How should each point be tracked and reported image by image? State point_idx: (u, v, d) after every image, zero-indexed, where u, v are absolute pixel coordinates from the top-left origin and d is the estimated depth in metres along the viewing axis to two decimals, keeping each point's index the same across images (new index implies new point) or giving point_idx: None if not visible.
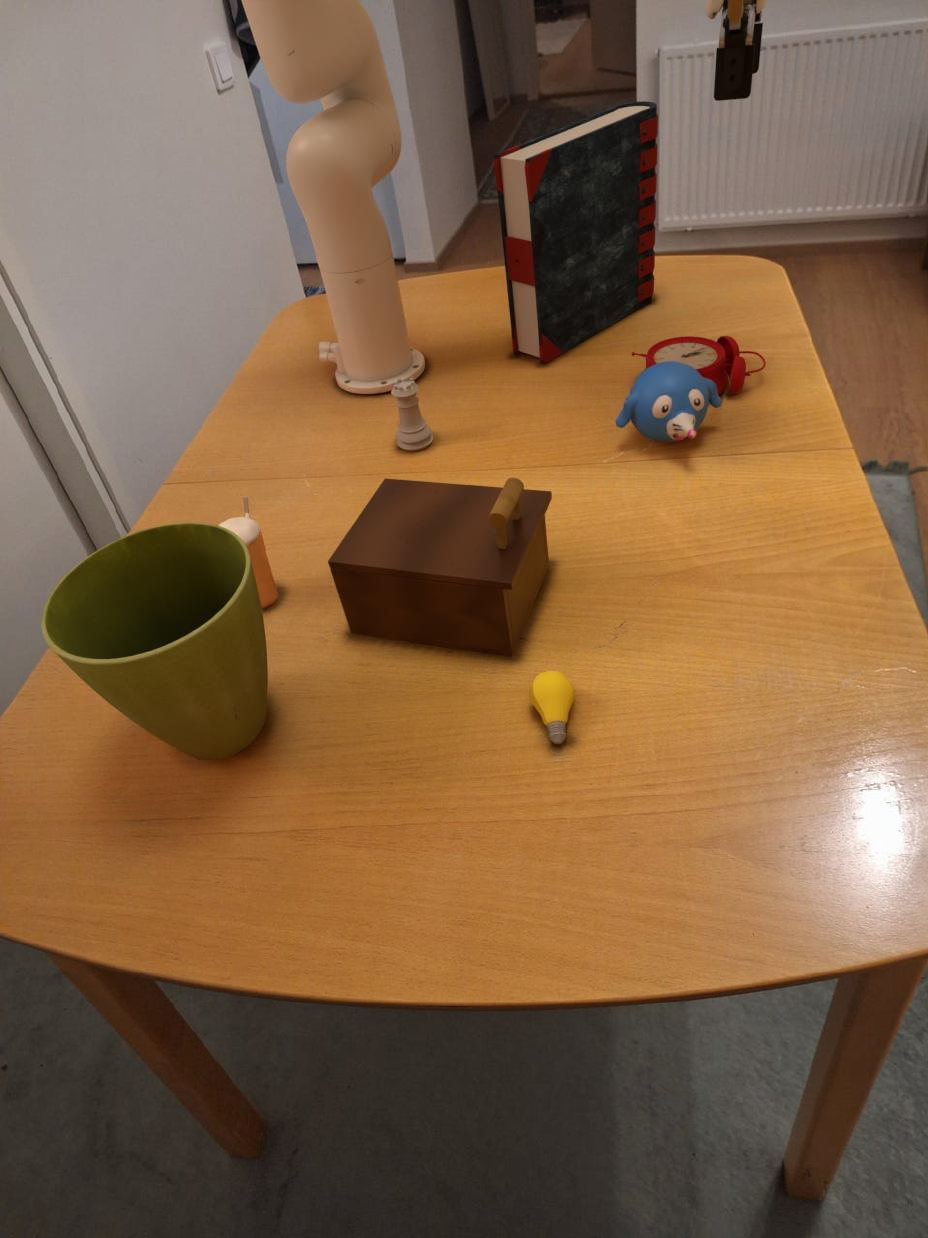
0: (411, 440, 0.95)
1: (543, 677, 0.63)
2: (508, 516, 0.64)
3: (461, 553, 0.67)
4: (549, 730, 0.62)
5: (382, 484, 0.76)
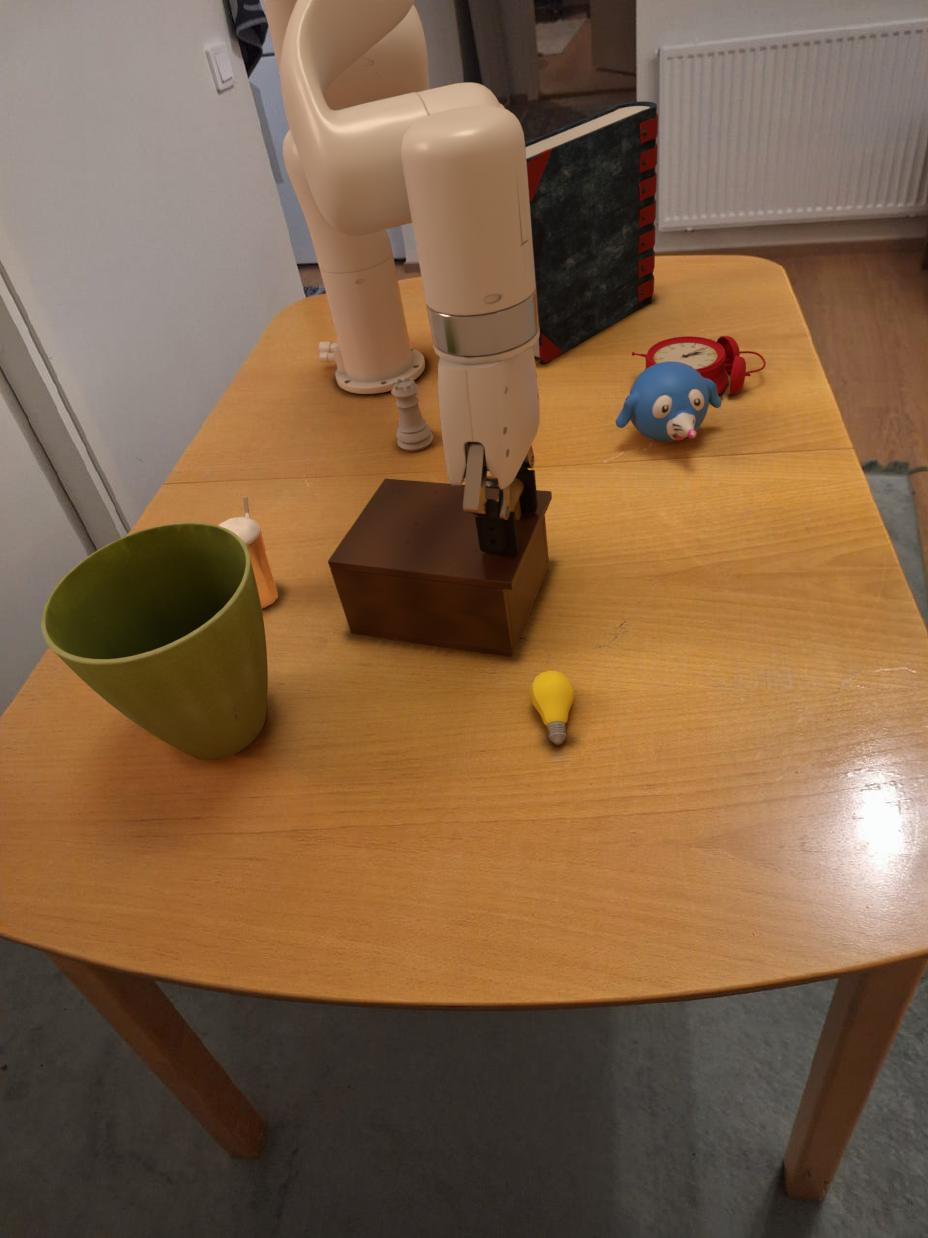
0: (411, 440, 0.95)
1: (543, 677, 0.63)
2: None
3: (461, 553, 0.67)
4: (549, 730, 0.62)
5: (382, 484, 0.76)
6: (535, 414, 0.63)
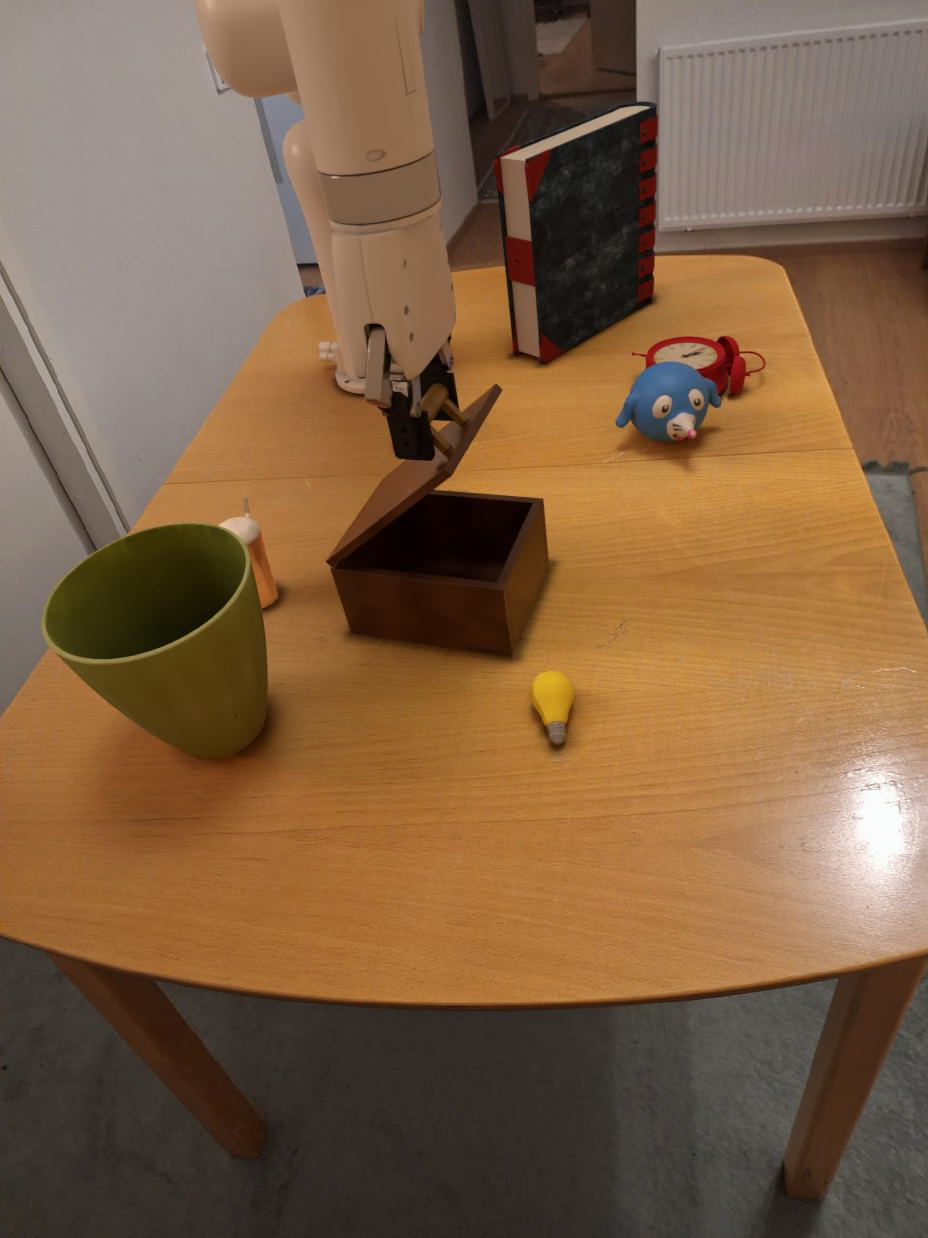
0: None
1: (543, 677, 0.63)
2: None
3: (415, 479, 0.63)
4: (549, 731, 0.61)
5: (379, 483, 0.76)
6: (448, 306, 0.59)
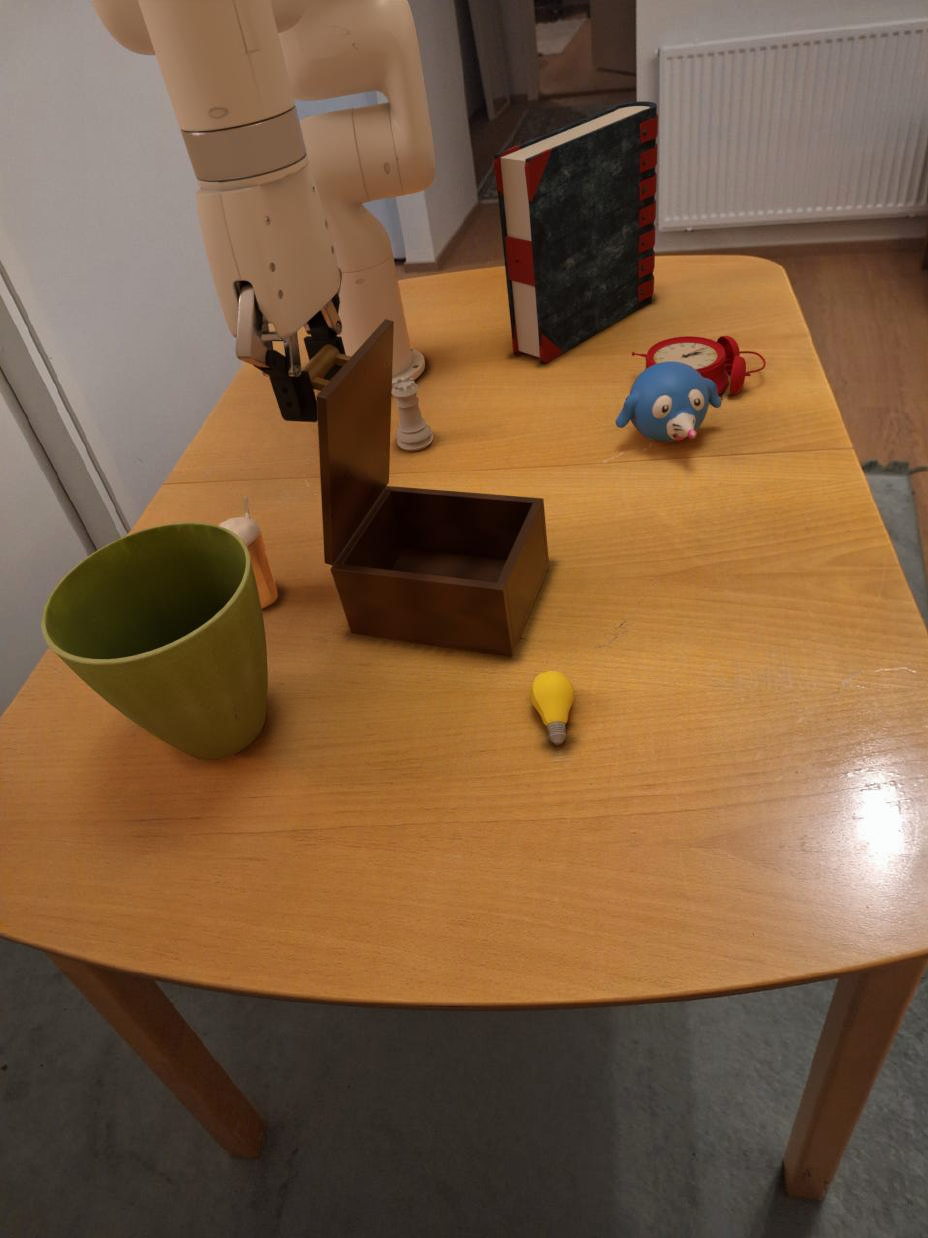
0: (411, 440, 0.95)
1: (543, 677, 0.63)
2: (304, 370, 0.61)
3: None
4: (549, 731, 0.61)
5: None
6: (328, 268, 0.60)
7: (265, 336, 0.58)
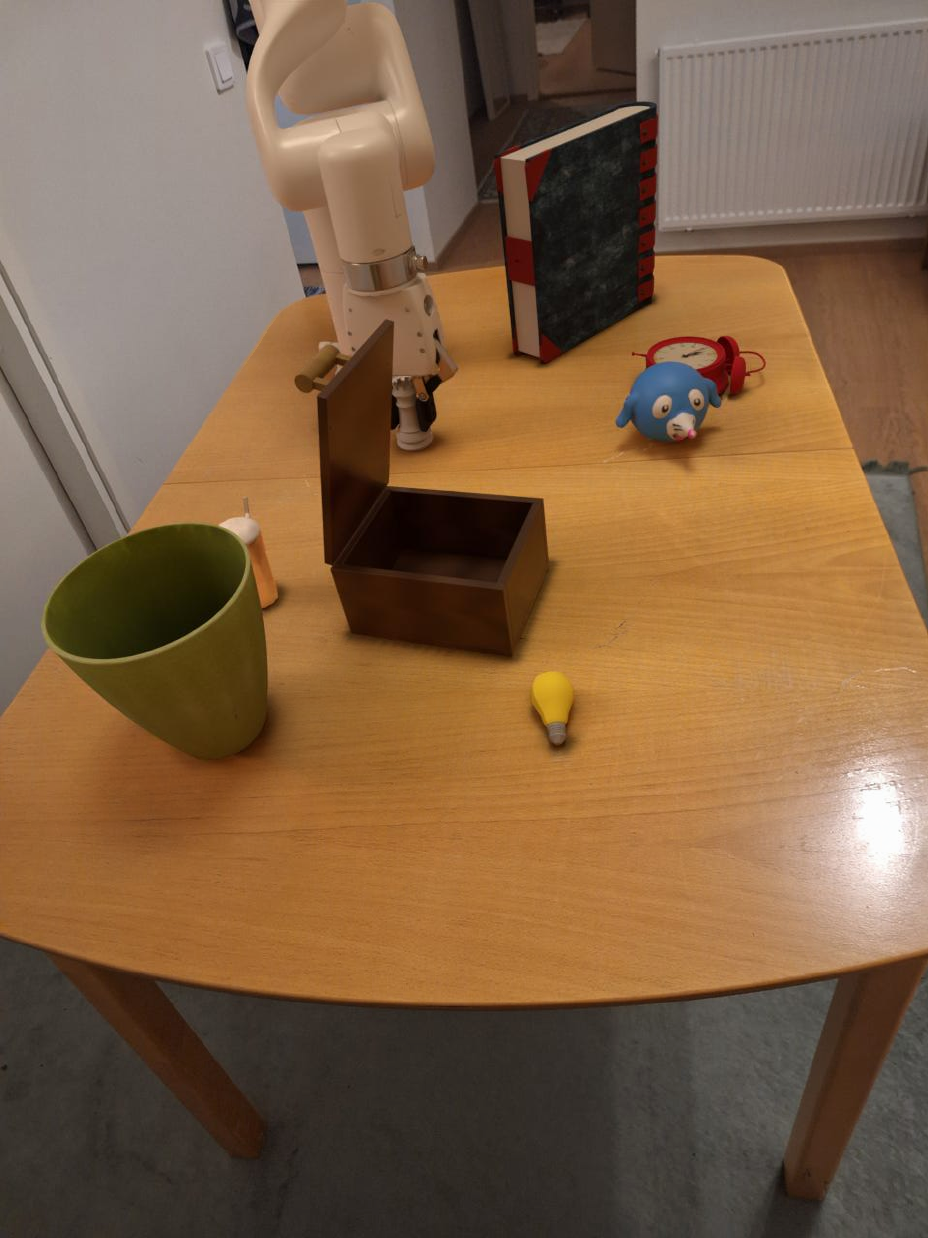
0: (411, 440, 0.95)
1: (543, 677, 0.63)
2: (304, 370, 0.61)
3: None
4: (549, 731, 0.61)
5: None
6: (412, 358, 0.87)
7: None
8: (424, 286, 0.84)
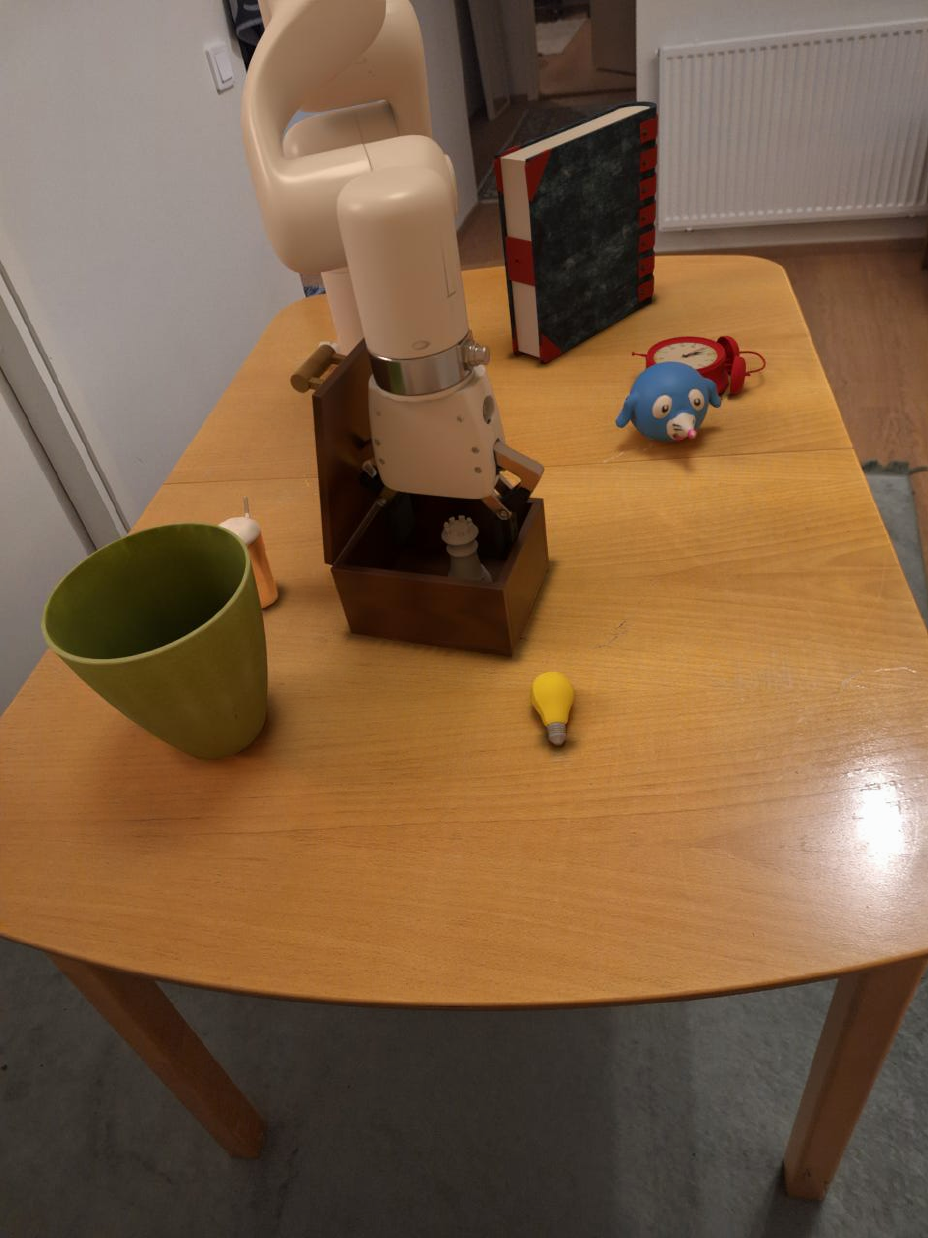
0: None
1: (543, 678, 0.63)
2: (300, 370, 0.61)
3: None
4: (549, 731, 0.61)
5: None
6: (462, 478, 0.63)
7: None
8: (484, 385, 0.59)
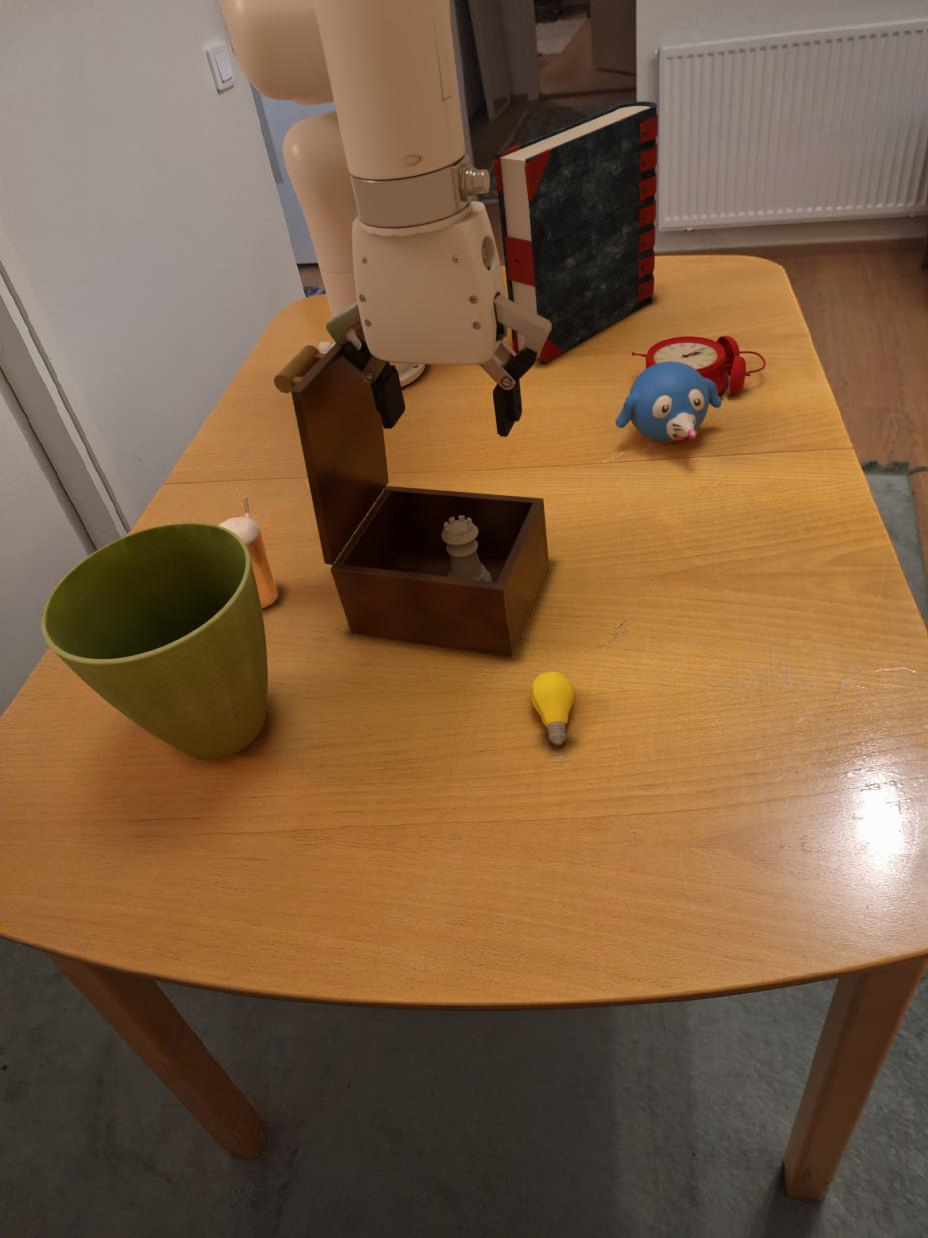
0: None
1: (543, 678, 0.63)
2: (283, 371, 0.62)
3: None
4: (549, 731, 0.61)
5: None
6: (459, 337, 0.56)
7: None
8: (483, 222, 0.53)
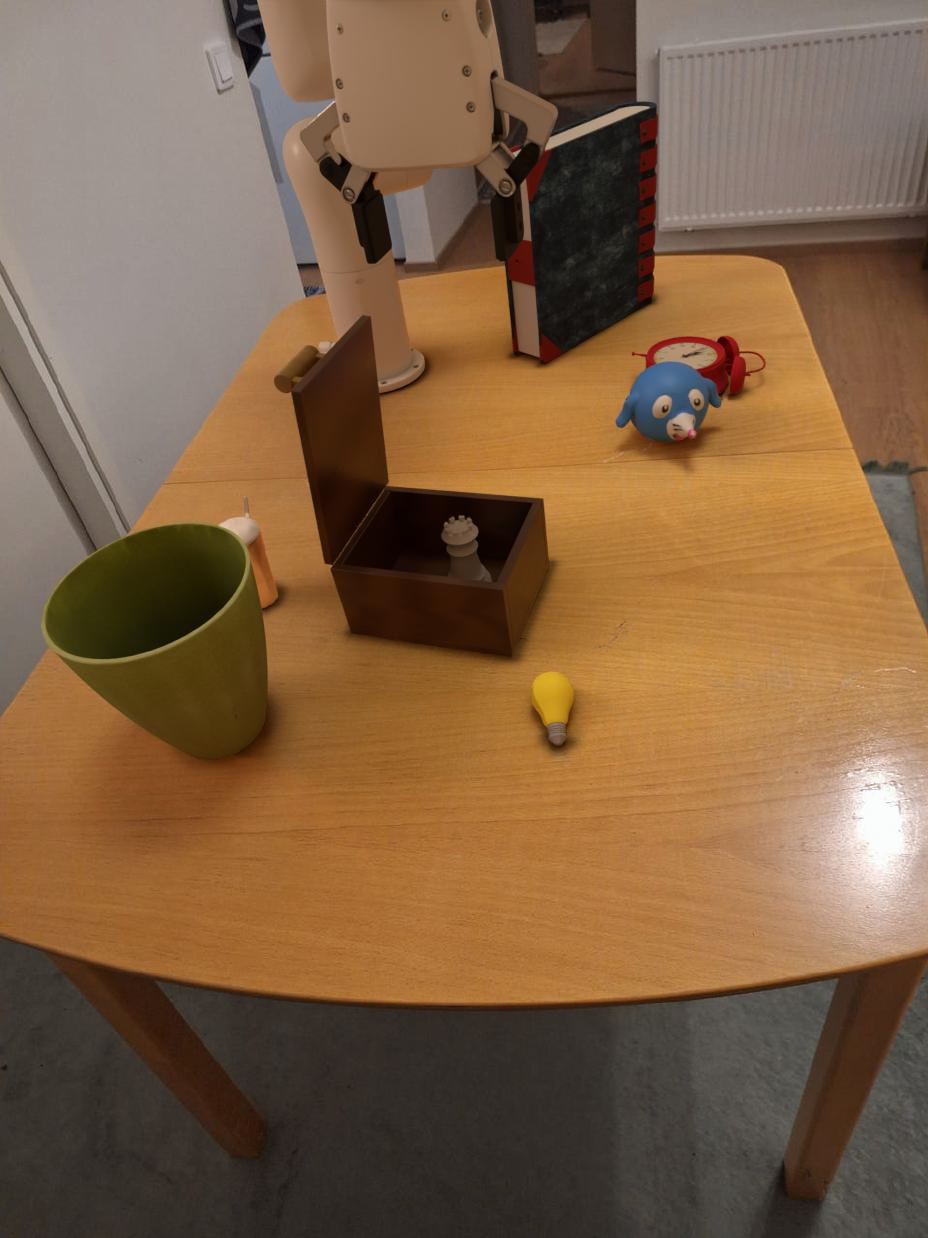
0: None
1: (543, 678, 0.63)
2: (282, 371, 0.62)
3: None
4: (549, 731, 0.61)
5: None
6: (451, 125, 0.48)
7: None
8: None
